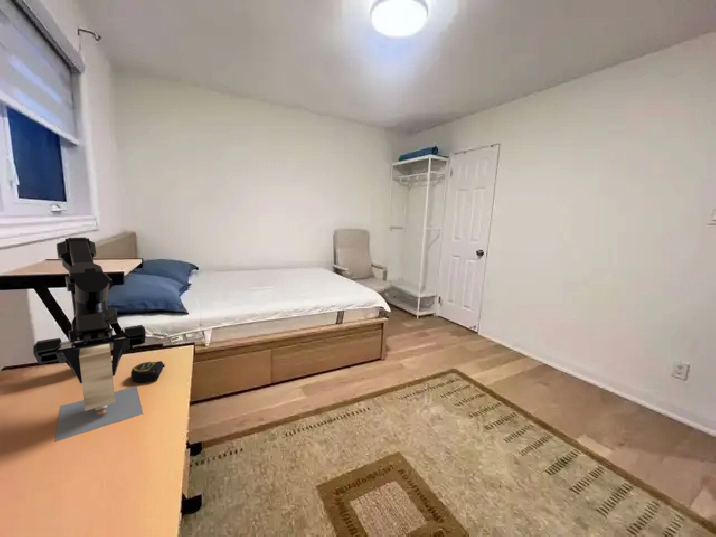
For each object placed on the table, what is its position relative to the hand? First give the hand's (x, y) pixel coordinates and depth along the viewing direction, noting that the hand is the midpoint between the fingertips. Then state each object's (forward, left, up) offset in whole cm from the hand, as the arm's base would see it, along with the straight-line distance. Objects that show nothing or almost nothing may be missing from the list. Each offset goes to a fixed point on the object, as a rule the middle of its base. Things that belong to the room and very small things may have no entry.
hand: (97, 378), depth 66 cm
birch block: (-1, -1, -6) cm, 6 cm away
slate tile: (-1, -1, -9) cm, 9 cm away
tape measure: (-16, -1, -9) cm, 18 cm away
